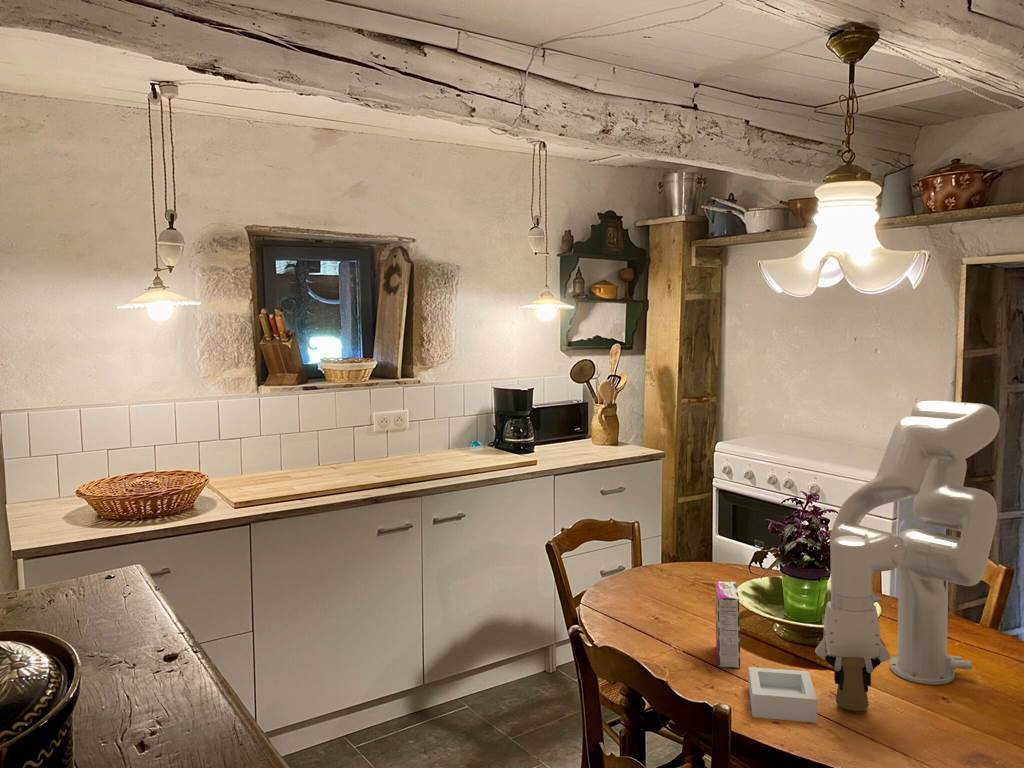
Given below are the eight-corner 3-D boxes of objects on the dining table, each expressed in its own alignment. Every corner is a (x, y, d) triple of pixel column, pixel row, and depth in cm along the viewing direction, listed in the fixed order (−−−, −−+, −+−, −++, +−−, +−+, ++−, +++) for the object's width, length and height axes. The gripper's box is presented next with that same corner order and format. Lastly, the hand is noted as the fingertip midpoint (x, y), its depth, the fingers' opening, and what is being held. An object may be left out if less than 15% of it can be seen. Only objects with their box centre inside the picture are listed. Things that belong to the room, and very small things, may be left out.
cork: (841, 692, 158) (840, 641, 157) (872, 700, 154) (872, 648, 153) (831, 704, 154) (831, 652, 152) (863, 713, 150) (863, 660, 149)
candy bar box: (714, 646, 184) (714, 580, 183) (736, 647, 183) (736, 581, 182) (717, 667, 174) (717, 597, 172) (740, 669, 173) (740, 598, 171)
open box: (808, 694, 161) (808, 671, 161) (817, 724, 150) (817, 699, 149) (748, 689, 164) (748, 666, 164) (752, 718, 152) (752, 694, 152)
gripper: (893, 594, 153) (893, 681, 155) (804, 591, 157) (805, 676, 159) (902, 609, 146) (902, 700, 148) (809, 605, 150) (810, 694, 152)
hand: (852, 687), depth 154 cm, fingers closed on cork, 3 cm apart
